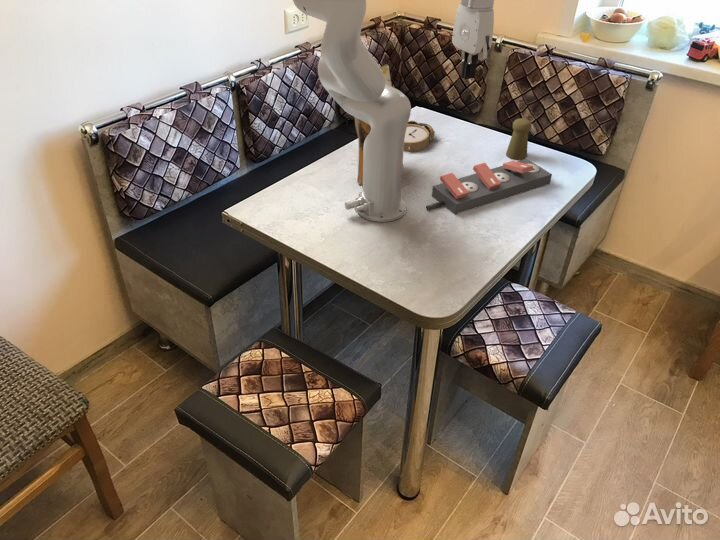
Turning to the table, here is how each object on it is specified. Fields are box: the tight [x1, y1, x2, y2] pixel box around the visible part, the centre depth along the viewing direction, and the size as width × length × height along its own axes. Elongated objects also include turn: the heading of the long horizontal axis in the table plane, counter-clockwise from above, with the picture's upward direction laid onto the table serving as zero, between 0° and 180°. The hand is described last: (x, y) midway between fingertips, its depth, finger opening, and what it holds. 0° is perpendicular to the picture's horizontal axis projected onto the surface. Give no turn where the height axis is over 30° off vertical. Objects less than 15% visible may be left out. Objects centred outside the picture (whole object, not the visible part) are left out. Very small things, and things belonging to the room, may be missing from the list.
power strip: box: [425, 158, 553, 215], centre depth 162 cm, size 37×10×3 cm, turn 120°
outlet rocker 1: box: [439, 172, 469, 199], centre depth 157 cm, size 4×8×2 cm, turn 30°
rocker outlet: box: [502, 160, 533, 173], centre depth 165 cm, size 4×8×2 cm, turn 30°
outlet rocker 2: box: [472, 162, 501, 190], centre depth 161 cm, size 4×8×2 cm, turn 30°
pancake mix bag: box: [354, 63, 393, 186], centre depth 162 cm, size 7×19×28 cm, turn 143°
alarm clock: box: [403, 120, 436, 153], centre depth 186 cm, size 11×5×15 cm
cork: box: [505, 117, 532, 161], centre depth 177 cm, size 6×6×11 cm
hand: (467, 77), depth 155 cm, fingers closed
